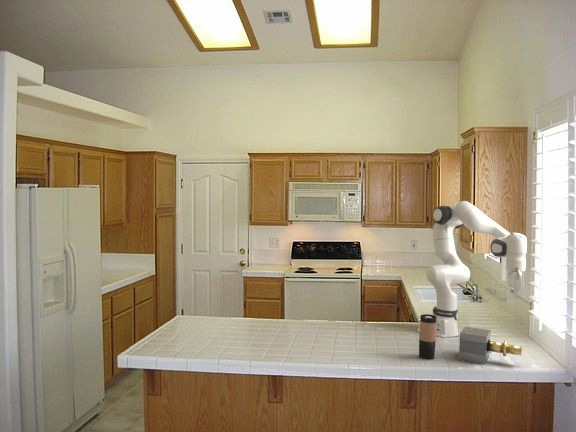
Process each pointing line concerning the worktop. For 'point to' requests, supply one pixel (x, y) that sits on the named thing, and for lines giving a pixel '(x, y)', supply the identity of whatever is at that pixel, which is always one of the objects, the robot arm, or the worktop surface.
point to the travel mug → (427, 336)
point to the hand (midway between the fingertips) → (513, 294)
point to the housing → (474, 345)
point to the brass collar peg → (503, 348)
